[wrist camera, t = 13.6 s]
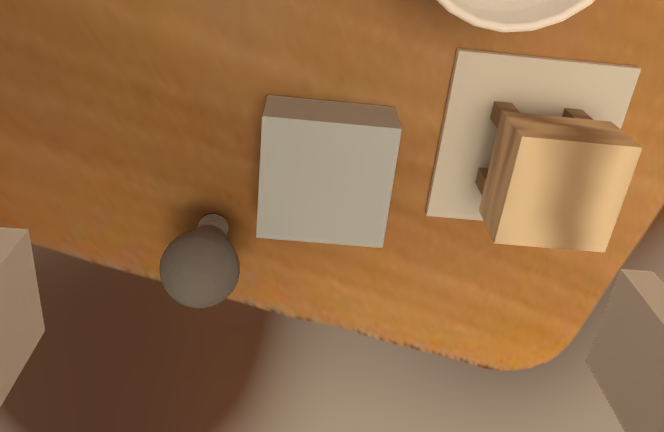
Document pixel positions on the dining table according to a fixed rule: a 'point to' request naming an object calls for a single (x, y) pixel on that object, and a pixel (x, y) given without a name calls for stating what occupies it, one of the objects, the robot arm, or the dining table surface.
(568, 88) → the mat
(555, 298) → the dining table surface
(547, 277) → the dining table surface
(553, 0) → the cup
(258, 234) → the gray square block
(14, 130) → the dining table surface
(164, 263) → the light bulb
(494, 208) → the stool
